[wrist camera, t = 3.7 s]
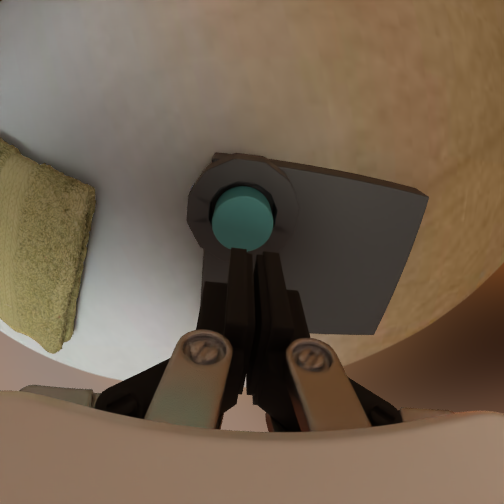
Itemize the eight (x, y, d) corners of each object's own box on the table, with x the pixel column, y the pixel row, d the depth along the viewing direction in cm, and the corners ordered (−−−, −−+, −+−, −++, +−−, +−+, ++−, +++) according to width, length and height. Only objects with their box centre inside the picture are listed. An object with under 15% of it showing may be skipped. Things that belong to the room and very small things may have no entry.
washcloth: (-22, 286, 22) (-37, 303, 19) (-9, 123, 15) (-37, 132, 12) (73, 345, 25) (62, 368, 23) (118, 187, 18) (98, 205, 15)
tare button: (212, 234, 17) (209, 249, 15) (217, 182, 16) (214, 192, 14) (265, 240, 17) (268, 255, 16) (274, 189, 16) (278, 200, 14)
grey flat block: (189, 307, 23) (183, 338, 20) (200, 143, 17) (191, 154, 14) (367, 320, 25) (380, 348, 22) (417, 182, 19) (444, 199, 16)
